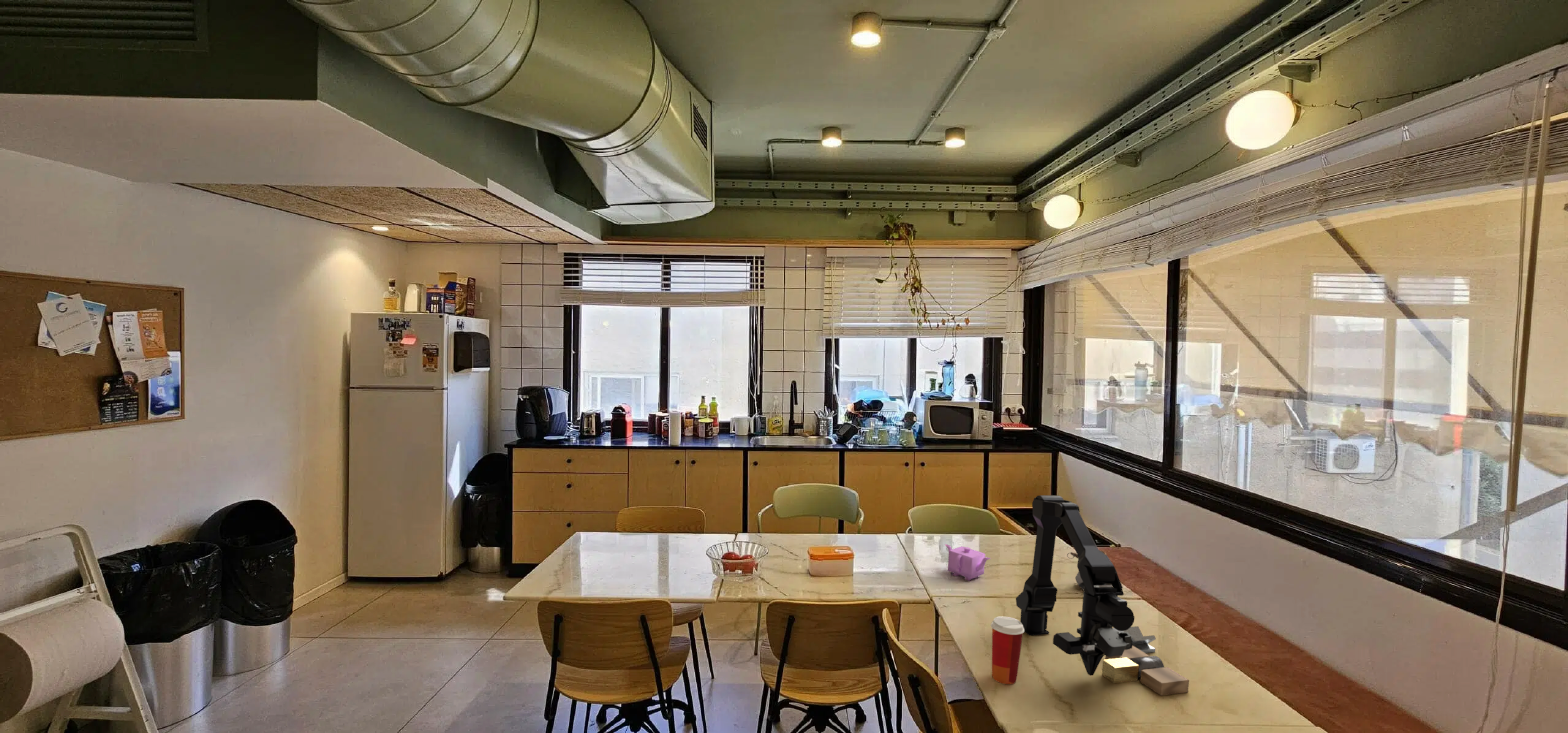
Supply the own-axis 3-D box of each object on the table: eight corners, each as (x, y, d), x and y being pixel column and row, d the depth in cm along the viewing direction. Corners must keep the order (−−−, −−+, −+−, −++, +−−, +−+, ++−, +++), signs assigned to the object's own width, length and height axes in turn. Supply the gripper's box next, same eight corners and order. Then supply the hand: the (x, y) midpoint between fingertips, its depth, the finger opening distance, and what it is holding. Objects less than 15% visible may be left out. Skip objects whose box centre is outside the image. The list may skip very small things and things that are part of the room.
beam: (1160, 695, 158) (1161, 683, 158) (1105, 658, 176) (1106, 647, 176) (1188, 692, 161) (1189, 679, 160) (1130, 655, 178) (1131, 644, 178)
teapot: (1000, 579, 230) (1002, 551, 229) (979, 588, 221) (981, 558, 220) (954, 563, 243) (956, 537, 242) (933, 571, 234) (935, 544, 234)
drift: (1113, 683, 163) (1115, 667, 163) (1101, 675, 167) (1103, 659, 167) (1137, 681, 165) (1138, 665, 165) (1125, 672, 169) (1126, 657, 169)
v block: (1133, 654, 179) (1134, 638, 179) (1114, 642, 186) (1115, 627, 185) (1155, 652, 181) (1156, 636, 180) (1135, 640, 187) (1136, 625, 187)
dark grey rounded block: (1140, 681, 165) (1142, 664, 165) (1126, 671, 169) (1128, 654, 169) (1163, 678, 167) (1165, 661, 167) (1149, 668, 171) (1151, 652, 171)
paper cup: (1013, 670, 167) (1017, 615, 166) (1025, 687, 159) (1029, 629, 158) (982, 670, 167) (986, 614, 166) (993, 686, 159) (997, 628, 158)
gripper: (1085, 630, 152) (1080, 696, 153) (1152, 624, 158) (1147, 688, 158) (1053, 609, 163) (1049, 672, 164) (1117, 604, 168) (1112, 665, 169)
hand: (1090, 674), depth 164 cm, fingers closed
